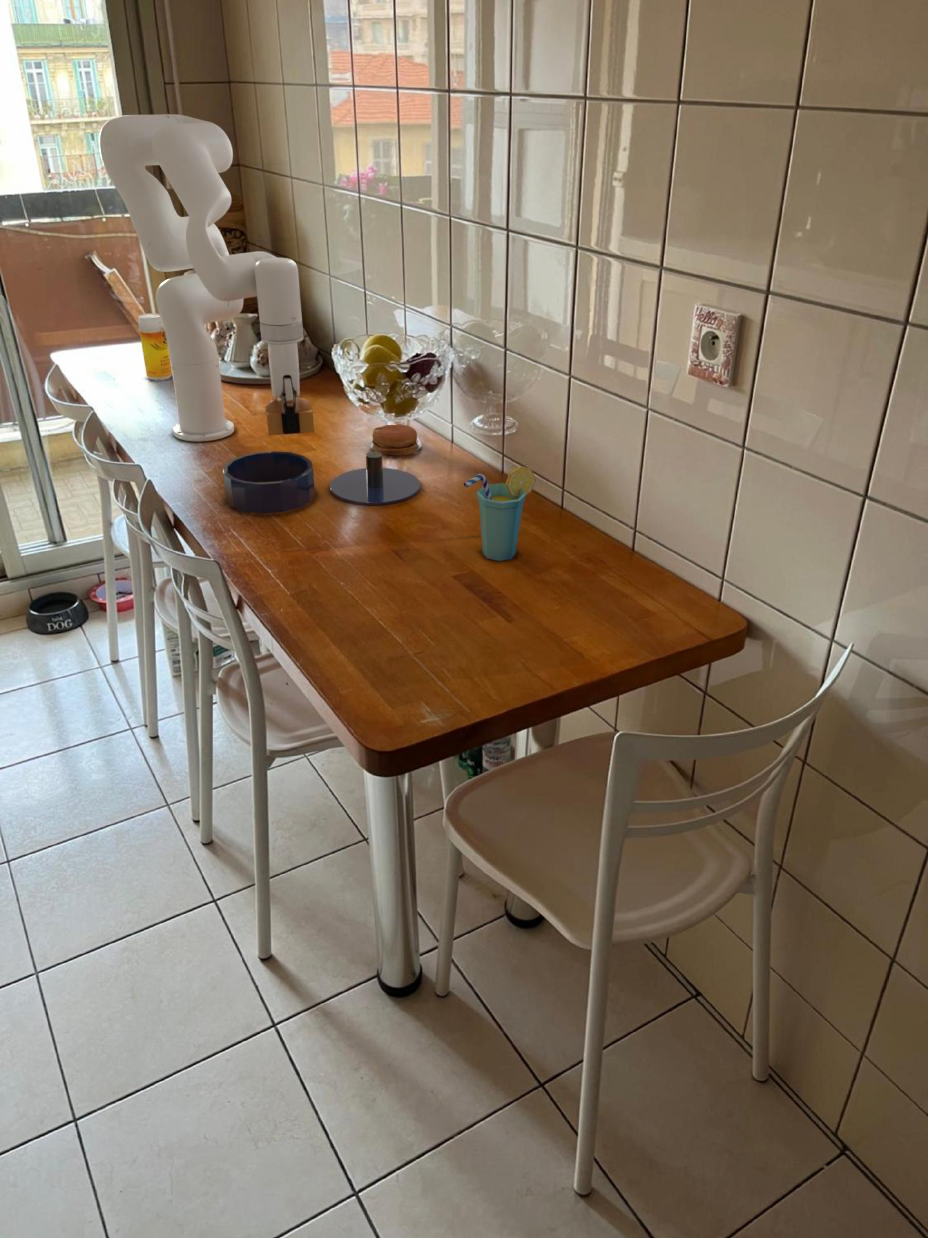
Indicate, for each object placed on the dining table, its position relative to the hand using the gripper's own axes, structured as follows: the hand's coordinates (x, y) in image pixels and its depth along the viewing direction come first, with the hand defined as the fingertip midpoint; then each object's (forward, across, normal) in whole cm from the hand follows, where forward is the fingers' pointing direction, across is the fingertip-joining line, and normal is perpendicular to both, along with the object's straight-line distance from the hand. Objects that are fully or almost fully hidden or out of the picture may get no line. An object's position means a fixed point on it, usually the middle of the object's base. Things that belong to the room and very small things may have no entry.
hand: (290, 426), depth 176 cm
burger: (+8, -5, +21) cm, 23 cm away
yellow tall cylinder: (+7, -66, -28) cm, 72 cm away
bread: (0, 0, 0) cm, 0 cm away
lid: (+8, +15, +14) cm, 22 cm away
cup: (+9, +45, +29) cm, 54 cm away
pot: (+8, +15, -5) cm, 18 cm away
